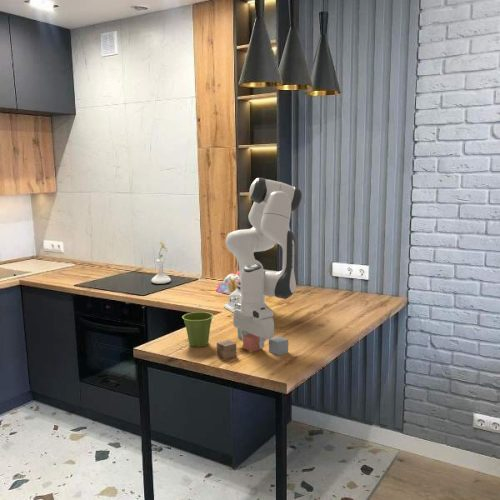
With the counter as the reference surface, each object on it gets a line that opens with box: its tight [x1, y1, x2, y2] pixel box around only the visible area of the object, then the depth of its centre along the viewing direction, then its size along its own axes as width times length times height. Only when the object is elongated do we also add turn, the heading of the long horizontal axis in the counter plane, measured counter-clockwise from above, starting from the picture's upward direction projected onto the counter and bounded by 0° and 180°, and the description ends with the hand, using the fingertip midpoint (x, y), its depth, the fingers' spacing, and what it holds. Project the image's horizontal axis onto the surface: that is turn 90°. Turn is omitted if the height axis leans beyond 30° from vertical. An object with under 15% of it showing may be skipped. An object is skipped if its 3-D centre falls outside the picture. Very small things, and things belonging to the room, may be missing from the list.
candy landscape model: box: [215, 270, 240, 295], centre depth 284 cm, size 25×24×9 cm
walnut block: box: [216, 339, 237, 360], centre depth 183 cm, size 5×5×5 cm
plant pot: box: [181, 311, 214, 348], centre depth 195 cm, size 12×12×11 cm
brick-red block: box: [242, 334, 263, 353], centre depth 191 cm, size 5×5×5 cm
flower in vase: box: [150, 240, 172, 285], centre depth 300 cm, size 13×11×25 cm
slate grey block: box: [268, 335, 289, 356], centre depth 187 cm, size 5×5×5 cm
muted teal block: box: [237, 328, 251, 340], centre depth 203 cm, size 5×5×5 cm
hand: (252, 344), depth 191 cm, fingers open, 8 cm apart
